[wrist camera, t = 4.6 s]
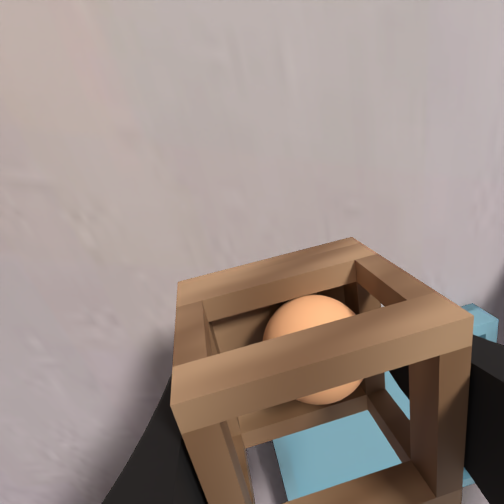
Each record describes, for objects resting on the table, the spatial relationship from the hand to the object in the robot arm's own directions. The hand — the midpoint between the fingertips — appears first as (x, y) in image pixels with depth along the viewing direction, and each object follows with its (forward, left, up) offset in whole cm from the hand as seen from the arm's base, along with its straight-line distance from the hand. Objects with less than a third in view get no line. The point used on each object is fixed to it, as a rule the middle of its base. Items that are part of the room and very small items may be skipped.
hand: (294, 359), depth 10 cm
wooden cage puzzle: (0, 0, -2) cm, 2 cm away
